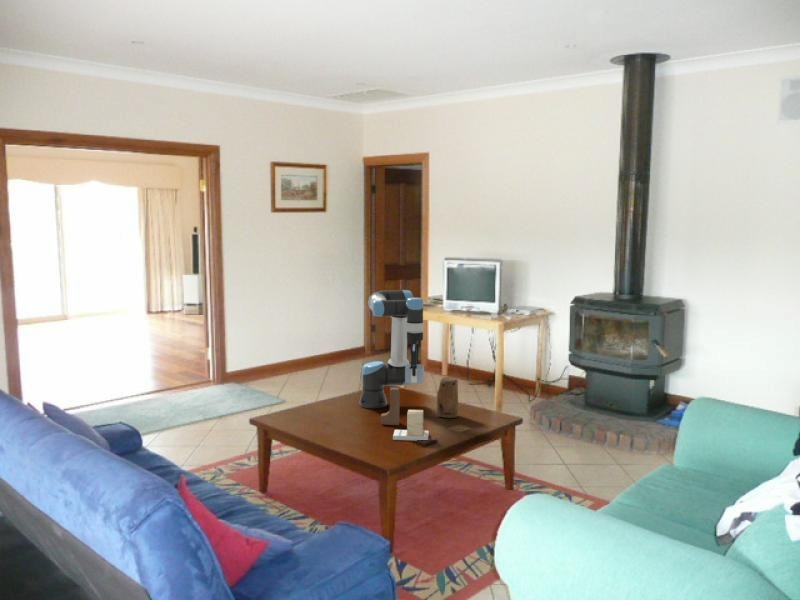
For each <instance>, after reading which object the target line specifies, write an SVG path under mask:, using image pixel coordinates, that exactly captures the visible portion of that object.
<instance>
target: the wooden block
mask: <svg viewBox="0 0 800 600" xmlns="http://www.w3.org/2000/svg"><path fill="white" fill-rule="evenodd" d="M380 425H381V426H386V425H387V426H399V425H400V387H392V386H390V389H389V410H388V411H387V412H384V413H383V412H382V413H381V415H380Z"/></svg>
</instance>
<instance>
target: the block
mask: <svg viewBox="0 0 800 600" xmlns="http://www.w3.org/2000/svg"><path fill="white" fill-rule="evenodd" d="M458 384H459V383H458V378H457V377H450V376H449V377H442V378H441V380H440V383H439V387H438V390H437V393H436V412H437V414H436V415H437V417H439V418H447V419H449V418H450V419H454V418H457V417H458V414H459V385H458Z"/></svg>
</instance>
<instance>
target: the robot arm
mask: <svg viewBox="0 0 800 600" xmlns="http://www.w3.org/2000/svg"><path fill="white" fill-rule="evenodd" d="M367 305H368V308H369V309H370V310H371V311H372V315H373V317H379V318H381V317H390V318H391V335H390V336H391V338H390V339H391V340H390V341H391V343H390V358H389V359H388V360H387V364H385V363H384V362H383V361H378V360H377V361H371V362H367V363H365V364H364V365H363V366H362V373H361V375H362V386H361V387H362V390H361V391H362V392H361V395H360V399H359V401H358V402H359V404H358V405H359V407H361V408H364V409H381V408H384V407H387V405H388V399H387V397H386V394H385V391H384V390H385V387H392V386H393V387H394V386H401V387H402V386H408V385H410V384H418V383H417V364H421V361H420V359H419V358H420V357H419V356H420V355H419V352H420V342H421V341H424V307H425V306H424V299H423V298H421V297H414V295H413V293H412V291H411V290H407V289H393V290H384V289H383V290H379V291H378V290H377V291H376V292H374V293H372V294H371V295H369V297H368V299H367ZM408 341H409V342H411V343H410V345H409V348H410V361H409V360H408V358H407V355H408V353H407V352H408V351H407V350H408ZM407 364H411V367H410V369H411V383H405V367H406V365H407ZM412 365H415V366H412Z"/></svg>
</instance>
